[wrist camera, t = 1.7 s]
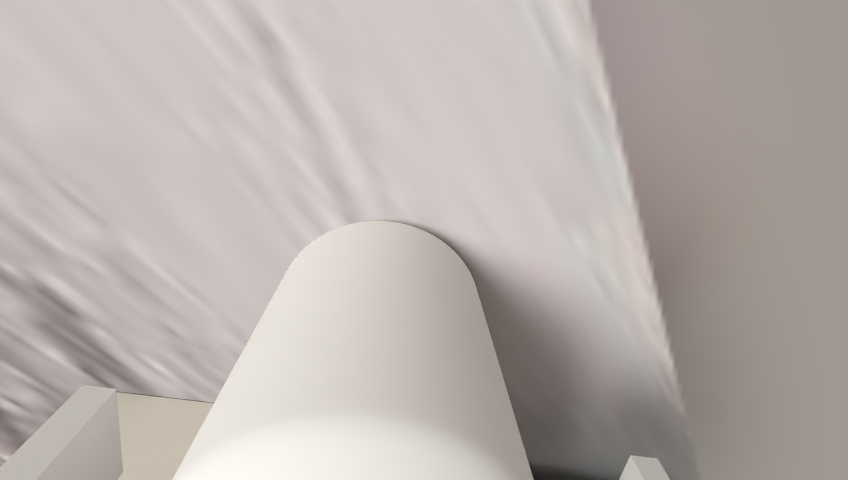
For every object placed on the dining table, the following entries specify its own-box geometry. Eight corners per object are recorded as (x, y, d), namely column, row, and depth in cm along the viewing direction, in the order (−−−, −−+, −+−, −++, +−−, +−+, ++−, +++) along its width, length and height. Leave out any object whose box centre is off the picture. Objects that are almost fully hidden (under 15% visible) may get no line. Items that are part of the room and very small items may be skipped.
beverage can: (487, 367, 21) (583, 735, 9) (312, 396, 21) (205, 788, 10) (461, 197, 17) (558, 447, 6) (256, 234, 18) (6, 537, 7)
